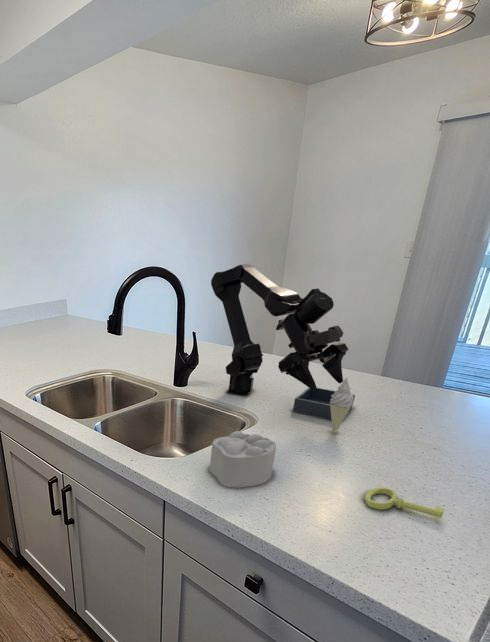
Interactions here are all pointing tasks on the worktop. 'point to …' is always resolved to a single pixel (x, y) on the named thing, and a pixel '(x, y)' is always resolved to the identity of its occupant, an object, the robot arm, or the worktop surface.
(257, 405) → the worktop surface
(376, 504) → the key
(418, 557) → the worktop surface
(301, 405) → the tub
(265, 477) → the lumpy-topped squat cylinder
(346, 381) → the ice cream cone
